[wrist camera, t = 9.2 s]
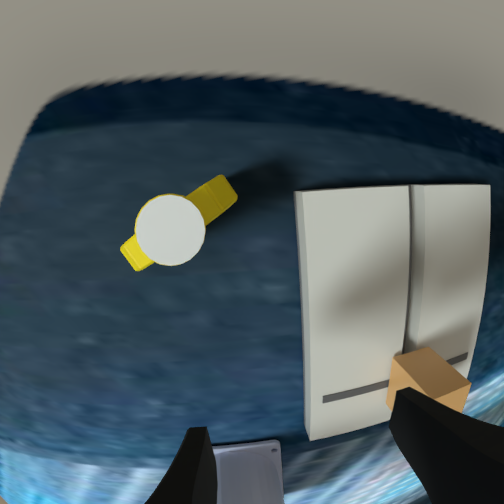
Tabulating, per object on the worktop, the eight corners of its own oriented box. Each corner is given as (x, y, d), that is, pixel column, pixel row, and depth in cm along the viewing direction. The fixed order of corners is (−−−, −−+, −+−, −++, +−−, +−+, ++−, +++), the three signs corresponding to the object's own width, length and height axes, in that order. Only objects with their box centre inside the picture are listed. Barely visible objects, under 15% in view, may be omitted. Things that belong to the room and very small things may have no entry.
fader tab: (410, 380, 21) (454, 430, 14) (376, 390, 20) (417, 447, 14) (417, 336, 20) (471, 383, 13) (382, 346, 20) (432, 400, 13)
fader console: (451, 380, 22) (463, 391, 20) (303, 423, 21) (310, 441, 19) (472, 183, 19) (491, 185, 17) (293, 191, 18) (302, 192, 16)
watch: (212, 167, 17) (218, 152, 11) (240, 207, 18) (258, 212, 12) (127, 229, 17) (93, 244, 11) (155, 268, 18) (134, 300, 12)
